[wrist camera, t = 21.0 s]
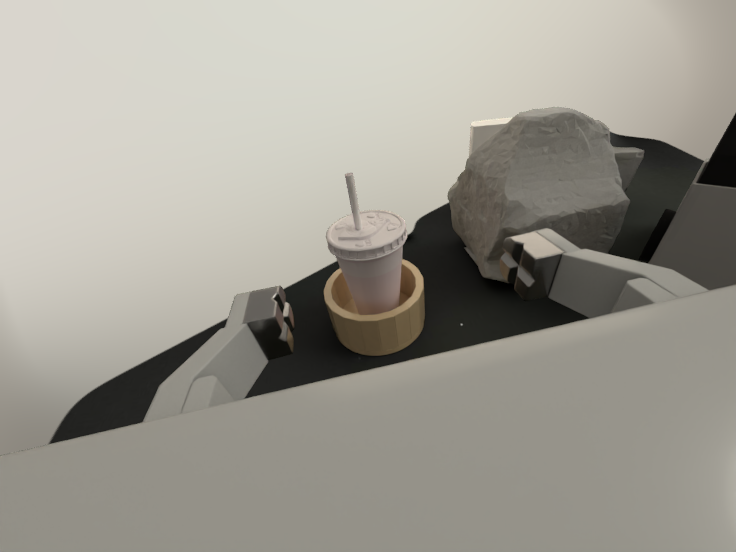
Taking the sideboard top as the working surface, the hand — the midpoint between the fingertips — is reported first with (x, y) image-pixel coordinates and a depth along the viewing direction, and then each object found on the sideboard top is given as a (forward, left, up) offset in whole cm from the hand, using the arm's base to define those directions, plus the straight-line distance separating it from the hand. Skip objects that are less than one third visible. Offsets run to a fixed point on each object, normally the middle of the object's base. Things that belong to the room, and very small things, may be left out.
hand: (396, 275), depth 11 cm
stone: (+12, +21, -15) cm, 28 cm away
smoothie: (-3, +12, -14) cm, 18 cm away
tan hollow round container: (-3, +12, -15) cm, 19 cm away
